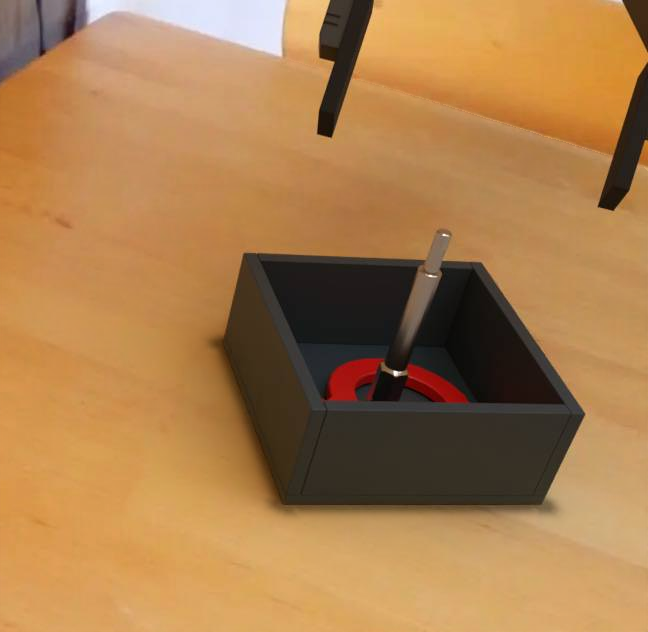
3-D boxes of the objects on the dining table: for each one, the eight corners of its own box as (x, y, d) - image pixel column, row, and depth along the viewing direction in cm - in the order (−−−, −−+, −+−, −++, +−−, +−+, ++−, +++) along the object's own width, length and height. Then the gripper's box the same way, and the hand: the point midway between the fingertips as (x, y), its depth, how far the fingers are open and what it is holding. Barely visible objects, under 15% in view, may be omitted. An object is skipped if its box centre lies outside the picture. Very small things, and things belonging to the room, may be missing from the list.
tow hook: (361, 357, 75) (290, 420, 69) (431, 153, 67) (359, 203, 61) (490, 418, 72) (429, 489, 66) (580, 213, 64) (521, 271, 58)
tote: (448, 348, 78) (481, 261, 74) (542, 504, 67) (586, 413, 63) (222, 342, 75) (243, 251, 71) (283, 504, 65) (311, 409, 60)
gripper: (836, -153, 61) (710, 257, 60) (340, -258, 65) (214, 127, 64) (913, -263, 54) (771, 202, 53) (348, -374, 58) (207, 59, 57)
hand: (466, 162), depth 59 cm, fingers open, 13 cm apart
